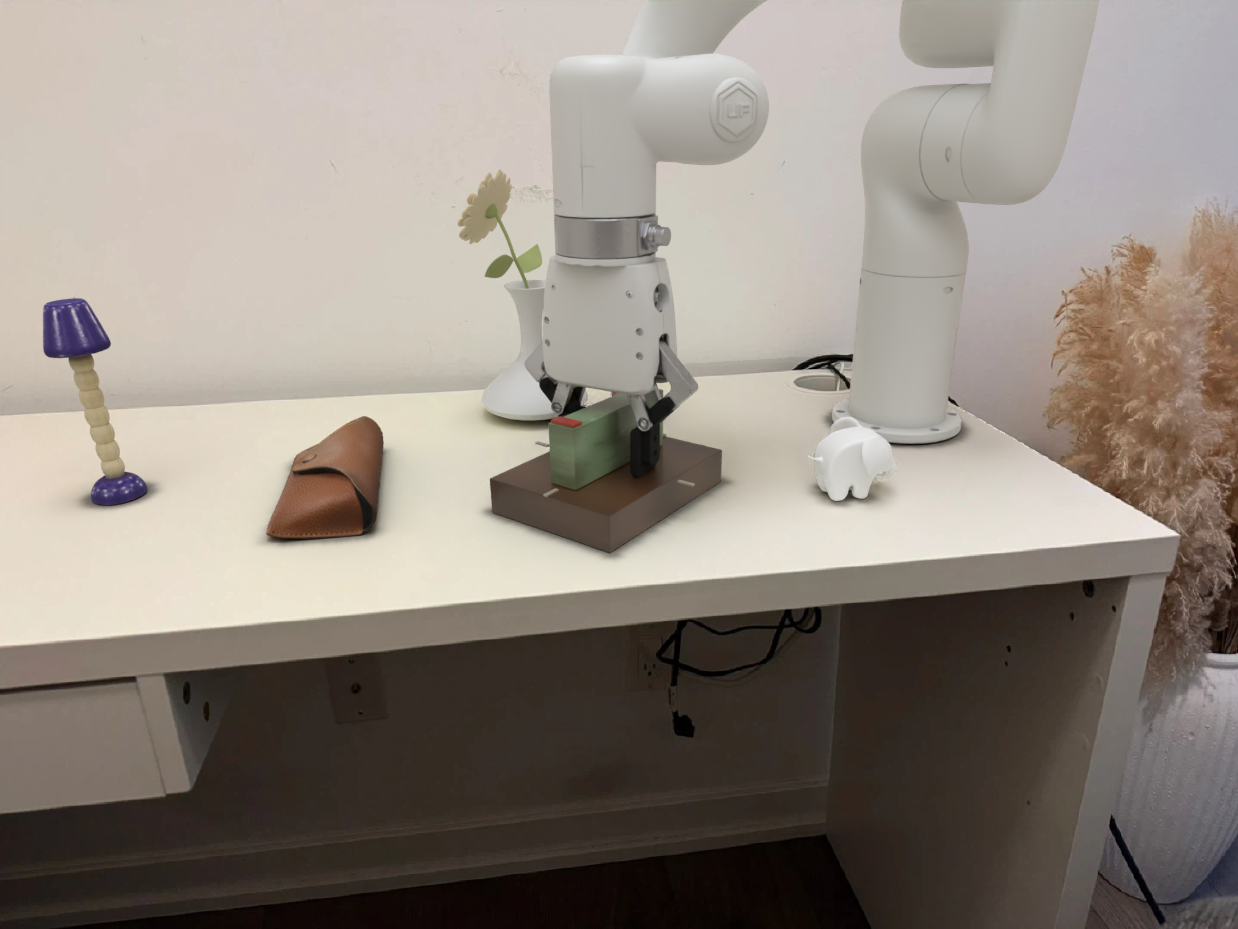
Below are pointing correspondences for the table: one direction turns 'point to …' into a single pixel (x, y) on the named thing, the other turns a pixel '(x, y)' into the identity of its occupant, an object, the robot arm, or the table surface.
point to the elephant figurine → (852, 459)
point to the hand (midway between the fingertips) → (608, 461)
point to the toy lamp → (90, 391)
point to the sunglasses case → (332, 486)
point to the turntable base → (607, 495)
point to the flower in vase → (515, 385)
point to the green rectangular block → (591, 441)
